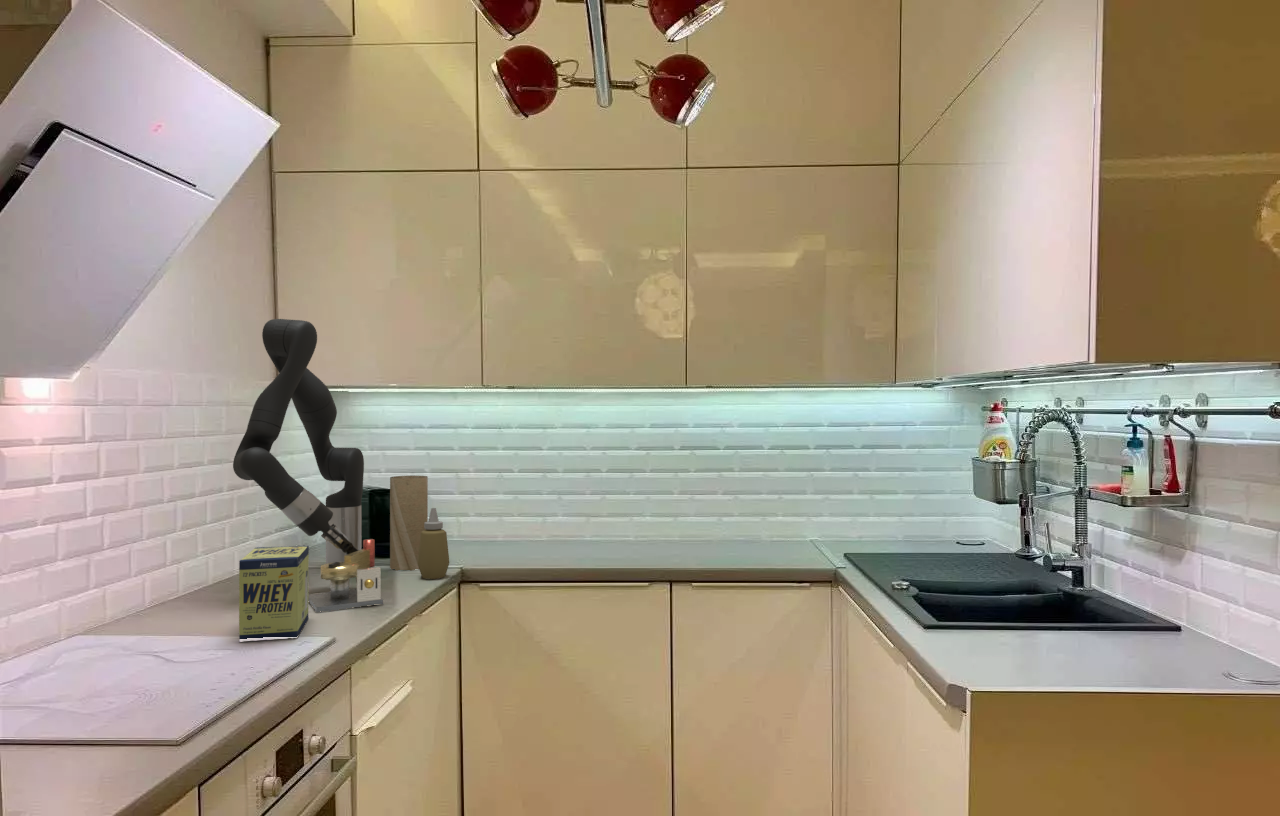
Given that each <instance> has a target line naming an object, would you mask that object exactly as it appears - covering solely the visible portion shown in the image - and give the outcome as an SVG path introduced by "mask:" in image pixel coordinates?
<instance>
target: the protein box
mask: <svg viewBox="0 0 1280 816" xmlns="http://www.w3.org/2000/svg"><path fill="white" fill-rule="evenodd" d="M309 547H310V546H309V545H289V546H288V545H287V546H286V545H283V546H260V547H259V546H258V547H254V548H253V549H252V550H251V551H250V552H249V553H247V554H246V555H245V556H244V557H242V558H241V559H239V560H238V562H239V563H238V566H239V567H238V568H239V569H238V570H239V571H238V576H239V577H238V578H239V579H238V584H239V585H238V587H239V588H238V590H239V591H238V592H239V593H238V594H239V596H238V601H239V602H238V617H239V618H238V623H239V624H238V627H239V628H238V629H239V630H238V632H239V633H238V634H239V635H238V637H239V638H238V639H247V638H263V637H297V636H298V635H299V634H301V633H302V631H303V629H304V628H305V626H304V625H306V624H307V622H308V620H309V602H308V595H309V594H310V593H309V592H310V591H309V563H310V562H309V560H310V559H309V557H310V556H309V555H310V553H309V550H310V549H309ZM305 623H306V624H305ZM301 630H302V631H301ZM300 632H301V633H300ZM299 636H300V635H299ZM299 636H298V637H299Z"/></svg>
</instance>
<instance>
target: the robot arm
mask: <svg viewBox="0 0 1280 816" xmlns="http://www.w3.org/2000/svg"><path fill="white" fill-rule="evenodd" d="M261 337H262V343H263V346H264V349H265V350H266V353H267V356H269V358H270V360H271V361H272V363H273V365H274V367H275V368H276V370H277V372H278V374H277V376H276V377H275V378H274V379H273V381H271V382H270V383H269V384H268V385H267V387H265V389H263V391H262V392H261V393H260V394H259V395H258V397H257V399H256V400H255V402H254V405H253V407H252V411H251V414H250V416H249V420H248V423H247V427H246V430H245V433H244V435H243V437H242V439H241V441H240V443H239V445H238V447H237V449H236V451H235V455H234V458H233V461H232V462H233V463H232V469H233V472H234V474H235V475H236V477H238V478H239V479H241V480H244V481H254V482H255V483H256V484H257V485H258V486H259V487H260V488H261V489H262V490H263V491H264V496H265V497H266V498H267V499H268V500H269V501H270V502H271V503H272V504H273V505H274V506H276V507H277V508H278V509H279V510H280V511H281V512H282V513H283V514H284V515H285V517H286V518H288V519H289V520H290V521H291V522H292V523H293V524H294V525H296V526H297V527H298V528H299V529H300V530H301V531H302V532H304V533H305V534H306V535H307V536H309V537H313V536H315V535H317V534H318V532H322V534H321V535H320V537H322V538H323V539H324V541H325V564H327V563H334V562H344V556H345V555H348V554H350V553H353V552H356V551H359V550H362V498H363V491H364V471H365V460H364V459H365V458H364V454H363V452H362V450H361V449H360V448H358V447H336V446H334V445H333V444H332V442H331V439H330V434H331V432H332V428H333V426H334V424H335V422H336V418H337V417H338V416H337V414H338V409H337V407H336V403H335V400H334V398H333V396H332V394H331V390H330V389H329V388H328V386H327V385H326V384H325V383H324V382H323V381H322V380H321V379H320V378H319V377H318V376H317V375H315V374H314V373H313V372H312V371H310V369H309V368H308V366H309V363H310V361H311V359H312V357H313V355H314V353H315V350H316V347H317V343H318V332H317V329H316V327H315V325H314V324H313V323H312V322H310V321H307V320H302V319H285V318H274V319H273V318H272V319H270V320H268V321H267V322H266V323H264V325H263V328H262V334H261ZM291 401H292V402H293V406H294V408H295V410H296V413H297V416H298V417H299V419H300V422H301V423H302V426H303V427H304V430H305V432H306V436H307V437H308V439H309V442H310V445H311V448H312V452H313V454H314V458H315V462H316V465H317V468H318V471H319V472H320V475H321V476H322V478H323V479H324V480H326V481H328V482H329V481H331V482H344V486H343V488H342V489H341V490H339V491H337V492H333V493H331V494H329V495H327V496H326V497H325V503H323V502H322V501H321V500H320V499H319V498H318V497H317V496H315V495H314V494H313V493H312V492H311V491H309V490H307V489H306V488H305V487H304V486H302V485H301V484H300V483H299V481H297V480H296V479H295V478H294V477H292V476H291V475H290V474H289V473H288V471H287V470H286V469H285V467H284V466H283V464H281V462H280V461H279V460H278V459H277V458H276V457H275V456H274V455H273V453H271V449H272V448H273V447H272V446H273V444H274V443H275V441H277V439H278V438H279V436H280V433H281V430H282V428H283V423H284V420H285V416H286V415H287V414H286V413H287V411H288V408H289V405H290V402H291Z"/></svg>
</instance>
